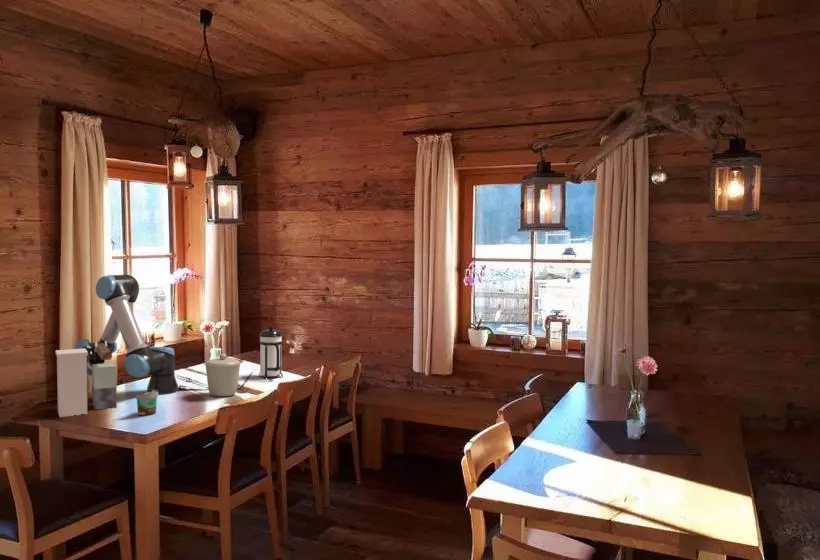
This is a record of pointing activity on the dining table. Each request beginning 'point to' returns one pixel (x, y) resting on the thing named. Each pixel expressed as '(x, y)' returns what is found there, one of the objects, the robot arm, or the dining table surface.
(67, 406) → the tall stand
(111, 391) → the tower base block
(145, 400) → the food container
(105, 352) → the walnut bar
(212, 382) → the canister
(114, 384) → the tower top block
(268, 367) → the coffee press
